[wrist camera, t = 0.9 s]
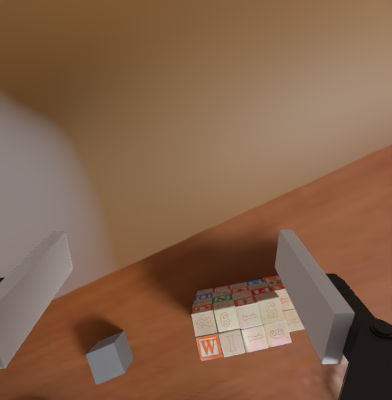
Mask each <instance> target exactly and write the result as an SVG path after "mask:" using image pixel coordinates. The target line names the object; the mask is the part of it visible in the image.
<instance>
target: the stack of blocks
mask: <svg viewBox="0 0 392 400" xmlns="http://www.w3.org/2000/svg"><path fill="white" fill-rule="evenodd" d="M191 316H192V321H193V326H194V331H195V336H196V340H197V346H198V351H199V355H200V360H201V361H204V360H209V359H214V358H219V357H223V356H224V357H228V356H233V355H238V354H242V353H245V352H253V351H258V350H262V349H266V348H268V347H274V346H279V345H283V344H288V343H291V338H290V334H289V332H294V331H299V330H304V329H305V328H304V326H303V324H302V322H301V320H300V318H299V316H298V314H297V312H296V310H295V308H294V306H293V304H292V302H291V299H290V297H289V295H288V293H287V291H286V289H285V287H284V285H283V283H282V281H281V279H280V277H279V275H276V276H271V277H266V278H263V279H258V280H253V281H248V282H243V283H238V284H233V285H226V286H221V287H216V288H210V289H205V290H200V291H197V292H196V297H195V300H194V302H193V306H192V313H191Z"/></svg>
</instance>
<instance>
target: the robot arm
mask: <svg viewBox="0 0 392 400" xmlns="http://www.w3.org/2000/svg"><path fill="white" fill-rule="evenodd" d="M275 269H276V271H277V273H278V275H279V277H280V279H281V281H282V283H283V285H284V287H285V289H286V291H287V293H288V295H289V297H290V299H291V302H292V304H293V306H294V308H295V310H296V312H297V314H298V316H299V318H300V320H301V322H302V324H303V326H304V328H305V330H306V332H307V334H308V336H309V339H310V341H311V343H312V345H313V347H314V349H315V351H316V353H317V355H318V357H319V359H320V361H321V363H322V364H340V362H341V359H342V356H343V354H344V356H345V357H346V359H347V361H348V362H349V364H348V367H347V370H346V373H345V376H344V380H343V384H342V388H341V391H340V395H339V398H338V400H392V325H391V324H389V323H387V322H385V321H383V320H380V319H377V318H375V317H374V316H373V315H372V314H371V312H370V311H369V310H368V309H367V308H366V306H365V305H364V304H363V303H362V302H361V300H360V299H359V298H358V297H357V296H356V295H355V293H354V292H353V291H352V289H350V287H349V286H348V285H347V283H346V282H345V281H344V280H343V279H341V278H340V277H338V276H337V275H336V274H325V273H324V271H323V270H322V269H321V267H320V266H319V265H318V263H317V262H316V261H315V259H314V258H313V257H312V255H311V254H310V253H309V252H308V250H307V249H306V248H305V246H304V245H303V244H302V242H301V241H300V240H299V238H298V237H297V236H296V234H295V233H294V232H293V230H280V232H279V239H278V246H277V254H276V261H275ZM72 270H73V265H72V261H71V256H70V251H69V247H68V242H67V237H66V232H52V233H51V234H50V235H49V236H48V237H47V238H46V239H45V240H44V241H42V243H40V244H39V245H38V247H36V248H35V249H34V250H33V251H32V252H31V253H30V254H29V255H28V256H27V257H26V258H25V259H24V260H23V261H22V262H21V263H20V264H19V265H18V266H17V267H16V268H15V269H14V270H13V271H12V272H11V273H10V274H9V275H8V276H7V277H6V278H0V369H5V368H6V366H7V365H8V364H9V362H10V361H11V359H12V358H13V356H14V355H15V353H16V352H17V350H18V349H19V348H20V346H21V345H22V343H23V342H24V340H25V339H26V337H27V336H28V334H29V333H30V331H31V330H32V329H33V327H34V326H35V324H36V323H37V321H38V320H39V318H40V317H41V315H42V314H43V313H44V311H45V310H46V308H47V307H48V305H49V304H50V302H51V301H52V299H53V298H54V296H55V295H56V293H57V292H58V290H59V289H60V288H61V286H62V285H63V283H64V282H65V280H66V279H67V278H68V276H69V275H70V273H71V272H72Z"/></svg>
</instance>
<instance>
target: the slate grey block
mask: <svg viewBox="0 0 392 400" xmlns="http://www.w3.org/2000/svg"><path fill="white" fill-rule="evenodd" d="M86 357H87V360H88V363H89V365H90V368H91V371H92V374H93V377H94V380H95V383H96V385H98V384H100V383H102V382H105V381H107V380H110V379H112V378H115V377H117V376H119V375H122V374H124V373H125V372H126V370H127V369H128V367H129V365H130V363H131V362H132V360H133V358H134V357H133V354H132V351H131V348H130V346H129V343H128V340H127V338H126V335H125V332H124V331H122V332H119V333H117V334H115V335H112V336H110V337H107V338H105V339H103V340H100V341H98V342H97V343H96V344H95V345H94V347H93V348H92V349H91V350H90V351H89V352H88V353H87V354H86Z"/></svg>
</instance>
